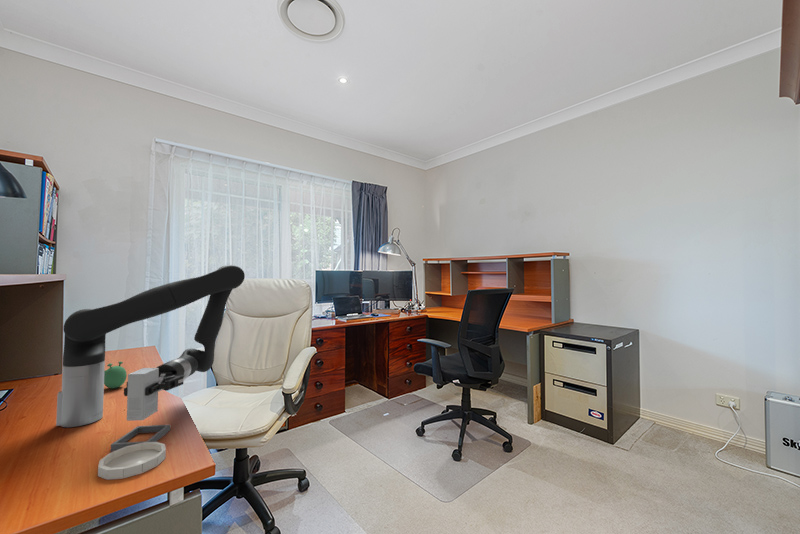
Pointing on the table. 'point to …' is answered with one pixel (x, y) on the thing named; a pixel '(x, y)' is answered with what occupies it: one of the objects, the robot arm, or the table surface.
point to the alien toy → (114, 376)
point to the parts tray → (140, 429)
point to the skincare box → (141, 394)
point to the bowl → (131, 460)
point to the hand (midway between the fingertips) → (136, 391)
